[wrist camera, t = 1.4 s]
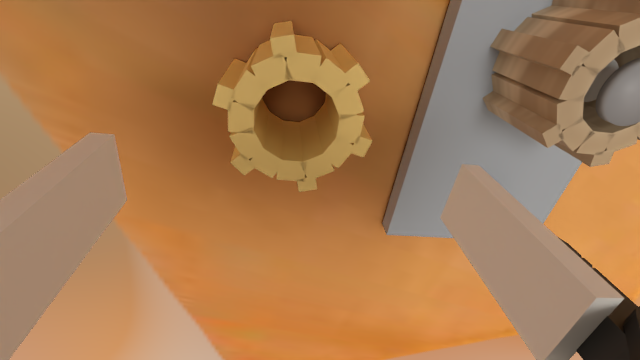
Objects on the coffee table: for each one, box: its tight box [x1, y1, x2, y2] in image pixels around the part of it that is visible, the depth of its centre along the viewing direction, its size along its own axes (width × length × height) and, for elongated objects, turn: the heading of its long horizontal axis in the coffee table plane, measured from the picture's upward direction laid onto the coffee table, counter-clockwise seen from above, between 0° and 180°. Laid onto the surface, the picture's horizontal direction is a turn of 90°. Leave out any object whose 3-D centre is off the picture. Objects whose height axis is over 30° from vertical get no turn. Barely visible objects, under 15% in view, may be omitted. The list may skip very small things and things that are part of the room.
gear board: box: [382, 0, 640, 238], centre depth 21 cm, size 20×14×8 cm
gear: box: [483, 0, 640, 167], centre depth 18 cm, size 8×8×6 cm
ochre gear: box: [212, 21, 372, 192], centre depth 19 cm, size 8×8×6 cm
